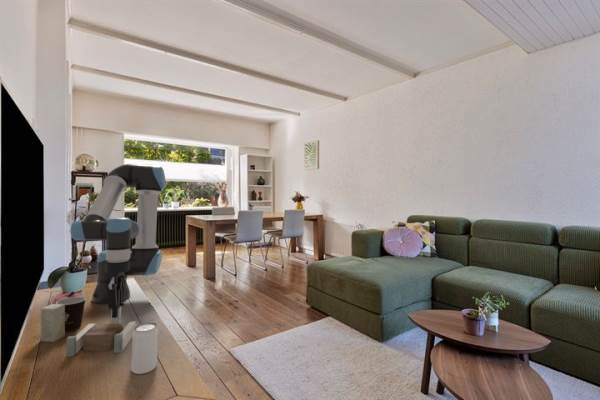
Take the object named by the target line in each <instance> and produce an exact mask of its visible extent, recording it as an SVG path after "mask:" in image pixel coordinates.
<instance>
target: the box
mask: <svg viewBox="0 0 600 400" xmlns="http://www.w3.org/2000/svg"><path fill="white" fill-rule="evenodd" d="M65 335H66V332H65V305H62V304H54V303H51V304H49V305H46V306H43V307H41V308H40V342H46V343H47V342H49V343H51V342H53V343H54V342H56V341H58V340H61V339H63V338H64V337H65Z"/></svg>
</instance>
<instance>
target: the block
mask: <svg viewBox="0 0 600 400" xmlns="http://www.w3.org/2000/svg"><path fill="white" fill-rule="evenodd" d="M123 330H124V323H121V324H111V323H104V324H103V323H102V324H100V323H98V324H96V327H94V328H93V329H92V330H90V331H89V332H88V333H86V334H85V335H84V347H83V351H103V350H104V351H109V350H112V349H114V336H115V334H118V333H121V332H122V331H123Z"/></svg>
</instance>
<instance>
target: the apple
mask: <svg viewBox="0 0 600 400" xmlns="http://www.w3.org/2000/svg"><path fill="white" fill-rule="evenodd" d="M70 297H84V296H83V294H81V293H78V292H74V291H71V293H70V292H67V293H62V294H59V295H57V296H56V297H55V298H54V300H53V304H56V302H57V301H59V300H61V299H65V298H70Z"/></svg>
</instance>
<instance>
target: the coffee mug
mask: <svg viewBox="0 0 600 400" xmlns="http://www.w3.org/2000/svg"><path fill="white" fill-rule="evenodd" d="M56 304H62V305H65V333H68V332H72V331H76V330H78V329H80V328H81V327H82V323H83V316H84V310H85V306H86V305H85V304H86V297H84V296H83V297H70V298H65V299H61V300H59V301H57V302H56Z"/></svg>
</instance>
